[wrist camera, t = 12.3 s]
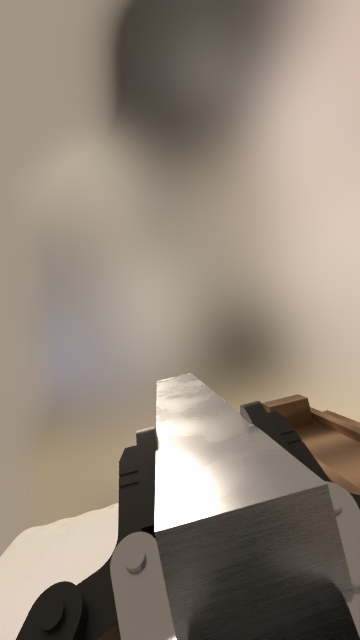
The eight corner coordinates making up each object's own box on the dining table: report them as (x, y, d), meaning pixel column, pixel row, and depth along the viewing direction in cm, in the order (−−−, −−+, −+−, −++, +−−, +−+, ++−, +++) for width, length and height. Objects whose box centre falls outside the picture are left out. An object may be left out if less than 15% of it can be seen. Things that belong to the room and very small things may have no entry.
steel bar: (373, 670, 6) (327, 483, 6) (195, 733, 5) (154, 532, 5) (198, 407, 29) (190, 373, 30) (164, 415, 29) (157, 381, 29)
